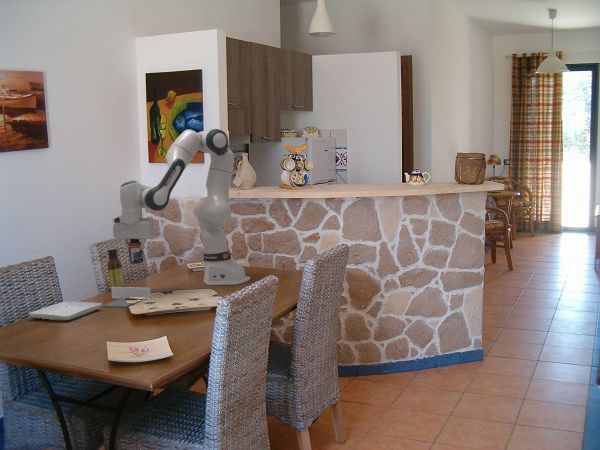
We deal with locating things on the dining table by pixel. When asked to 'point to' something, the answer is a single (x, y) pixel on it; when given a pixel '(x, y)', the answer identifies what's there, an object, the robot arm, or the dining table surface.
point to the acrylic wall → (130, 292)
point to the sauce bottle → (115, 269)
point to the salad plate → (65, 310)
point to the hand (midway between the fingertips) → (135, 248)
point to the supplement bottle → (135, 251)
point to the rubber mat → (118, 304)
